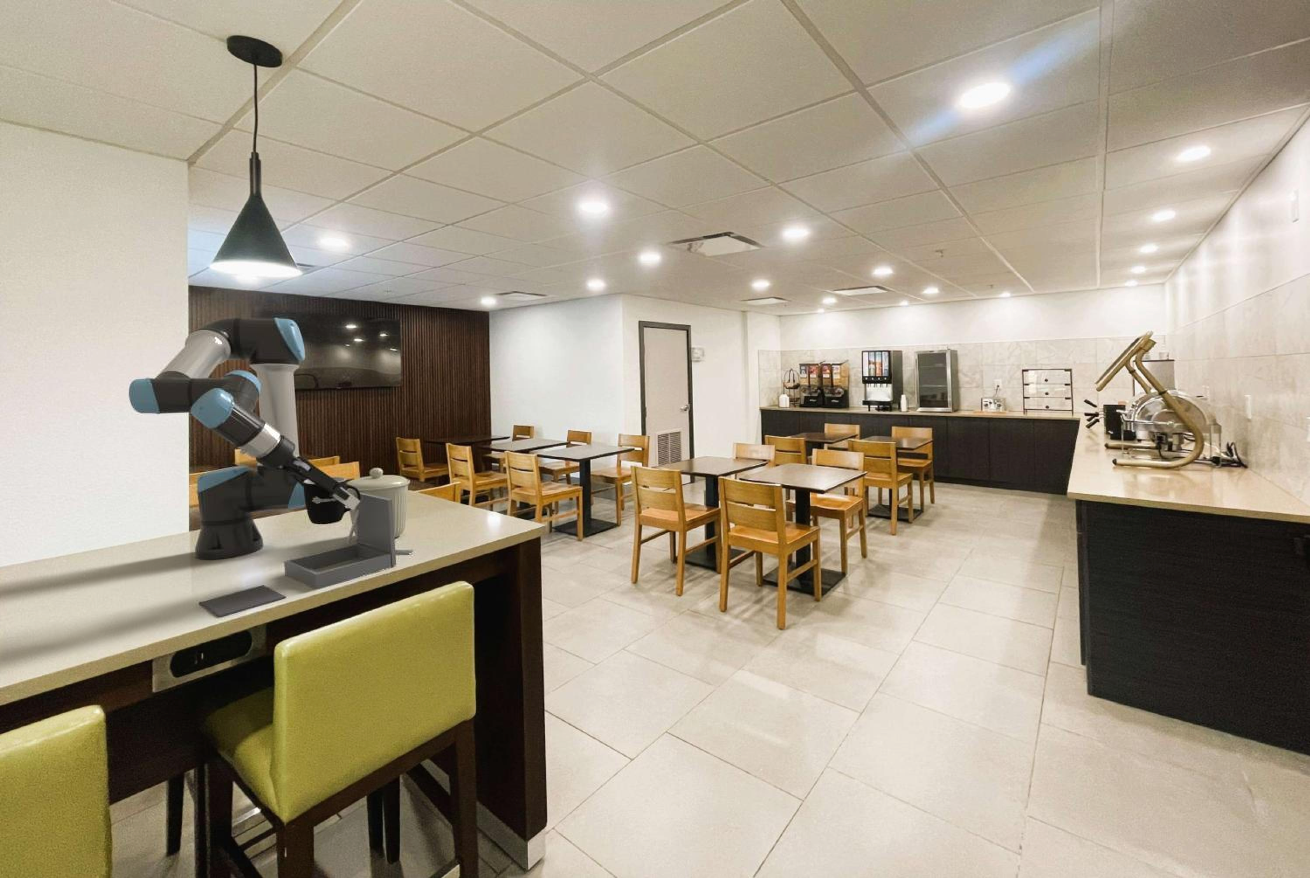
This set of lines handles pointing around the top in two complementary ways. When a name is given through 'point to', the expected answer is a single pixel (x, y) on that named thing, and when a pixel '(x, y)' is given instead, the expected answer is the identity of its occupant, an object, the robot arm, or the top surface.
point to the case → (353, 548)
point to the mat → (241, 600)
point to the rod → (403, 551)
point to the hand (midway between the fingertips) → (346, 503)
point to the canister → (384, 495)
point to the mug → (325, 502)
